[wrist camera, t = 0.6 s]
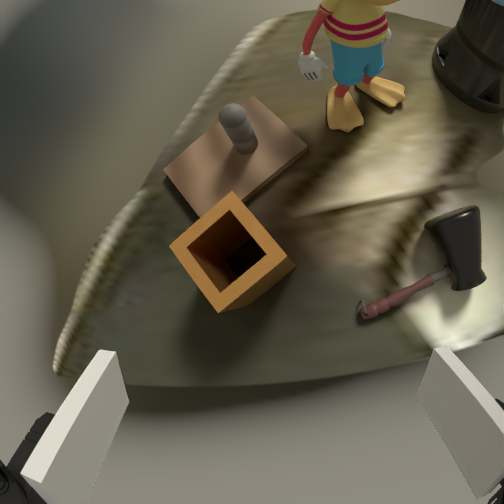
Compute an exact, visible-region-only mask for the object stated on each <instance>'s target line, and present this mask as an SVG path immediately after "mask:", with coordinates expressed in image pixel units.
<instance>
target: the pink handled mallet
mask: <svg viewBox="0 0 504 504" xmlns="http://www.w3.org/2000/svg"><path fill="white" fill-rule="evenodd" d="M424 229H425V231H426V233H427V234H428V236H429V238H430V239H431V241H432V243H433V244H434V246H435V248H436V250H437V251H438V253H439V255H440V257H441V258H442V260H443V262H444V264H445V266H444V268H442V269H441V270H439V271H437V272H435V273H433V274H432V275H430V274H428V275H427V276H425V277H424V278H422V279H421V280H419V281H418V282H416V283H415V284H413V285H411V286H409V287H406V288H403V289H401V290H398V291H395V292H392V293H391V294H390V295H389V296H388V297H387V298H384V297H383V298H381V299H379V300H377V301H376V302H375V303H369V304H368V305H366V306H365V305H364V302H363V299H362V298H361V301H362V304H363V308H361V309H360V314H361V316H362V318H363V320H367V319H371V318H374V317H377V316H378V314H379V313H381V314H382V313H384V312H386V311H388V310H389V309H390V307H392V306H399V305H400V304H401V303H403V302H404V301H405V300H407V299H408V298H409V297H411V296H412V295H413V294H414V293H416V292H418V291H420V290H422V289H425V288H427V287H429V286H431V285H433V284H434V282H436V281H437V280H439V279H441V278H443V277H444V276H446V275H448V276H449V275H451V277H452V283H451V289H452V290H455V291H462V290H467V289H471V288H474V287H476V286H478V285H480V284H482V283H483V282H484V281H485V280H486V279H487V277H486V275H485V273H484V272H483V270H482V269H481V221H480V210H479V207H478V206H476V205H473V206H467V207H464V208H461V209H457V210H454V211H451V212H449V213H446V214H443V215H441V216H438V217H436V218H433V219H431V220H429V221H428V222H426V223H425V225H424Z"/></svg>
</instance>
